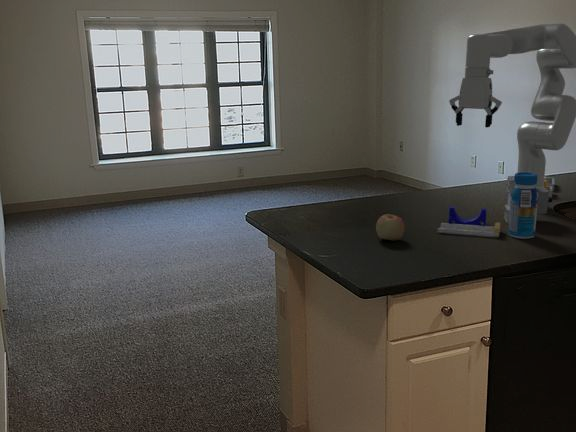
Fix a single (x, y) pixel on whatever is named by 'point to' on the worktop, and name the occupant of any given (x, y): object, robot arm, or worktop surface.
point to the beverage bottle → (523, 206)
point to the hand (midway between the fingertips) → (473, 126)
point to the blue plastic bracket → (458, 220)
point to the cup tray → (550, 182)
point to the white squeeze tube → (470, 230)
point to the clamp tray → (548, 188)
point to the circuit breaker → (541, 199)
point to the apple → (390, 227)
